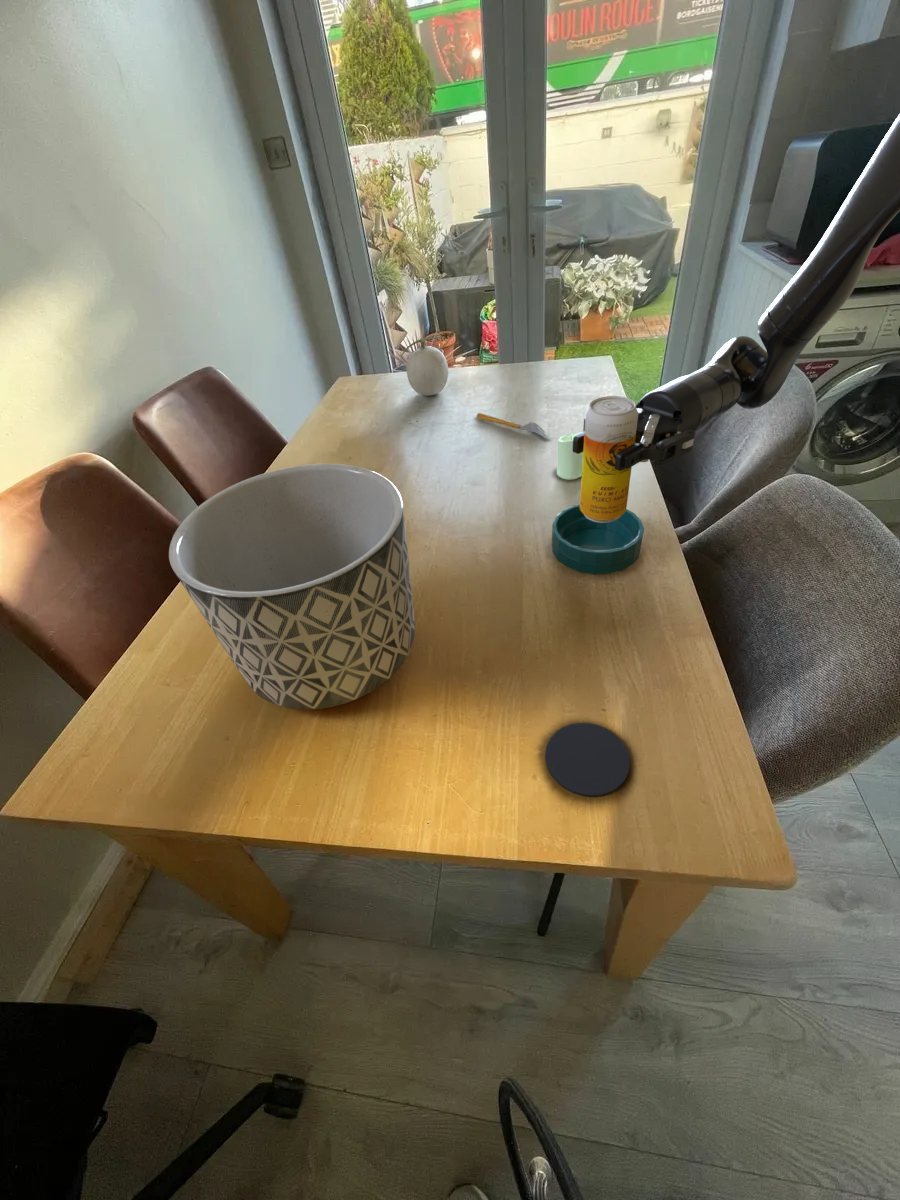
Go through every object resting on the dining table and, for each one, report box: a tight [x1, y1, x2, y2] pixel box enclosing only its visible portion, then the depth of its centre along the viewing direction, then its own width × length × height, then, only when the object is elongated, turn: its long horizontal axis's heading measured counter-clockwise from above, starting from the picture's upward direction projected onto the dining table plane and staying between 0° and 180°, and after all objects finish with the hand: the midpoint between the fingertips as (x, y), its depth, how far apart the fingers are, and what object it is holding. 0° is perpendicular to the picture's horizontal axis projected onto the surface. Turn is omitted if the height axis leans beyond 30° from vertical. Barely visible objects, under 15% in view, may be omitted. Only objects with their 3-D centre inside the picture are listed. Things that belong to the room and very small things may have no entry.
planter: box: [168, 463, 416, 711], centre depth 69 cm, size 26×26×22 cm
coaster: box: [544, 722, 631, 798], centre depth 60 cm, size 9×9×1 cm
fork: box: [476, 412, 547, 440], centre depth 123 cm, size 2×2×20 cm
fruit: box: [400, 335, 449, 397], centre depth 138 cm, size 10×12×15 cm
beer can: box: [579, 395, 638, 523], centre depth 70 cm, size 6×6×15 cm
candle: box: [556, 432, 583, 481], centre depth 104 cm, size 5×5×8 cm
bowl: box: [551, 503, 645, 576], centre depth 87 cm, size 14×14×4 cm
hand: (595, 454), depth 68 cm, fingers closed on beer can, 6 cm apart
